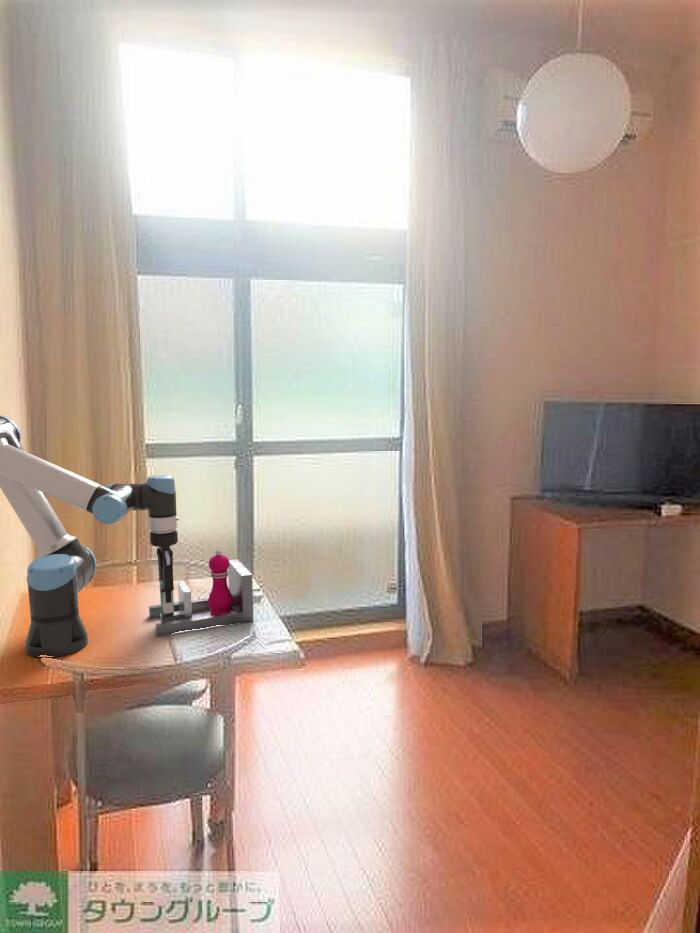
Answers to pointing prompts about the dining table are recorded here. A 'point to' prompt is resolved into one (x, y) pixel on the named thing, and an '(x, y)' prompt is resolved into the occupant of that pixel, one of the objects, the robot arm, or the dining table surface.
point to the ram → (184, 604)
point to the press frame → (241, 605)
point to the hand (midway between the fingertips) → (167, 610)
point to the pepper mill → (219, 585)
